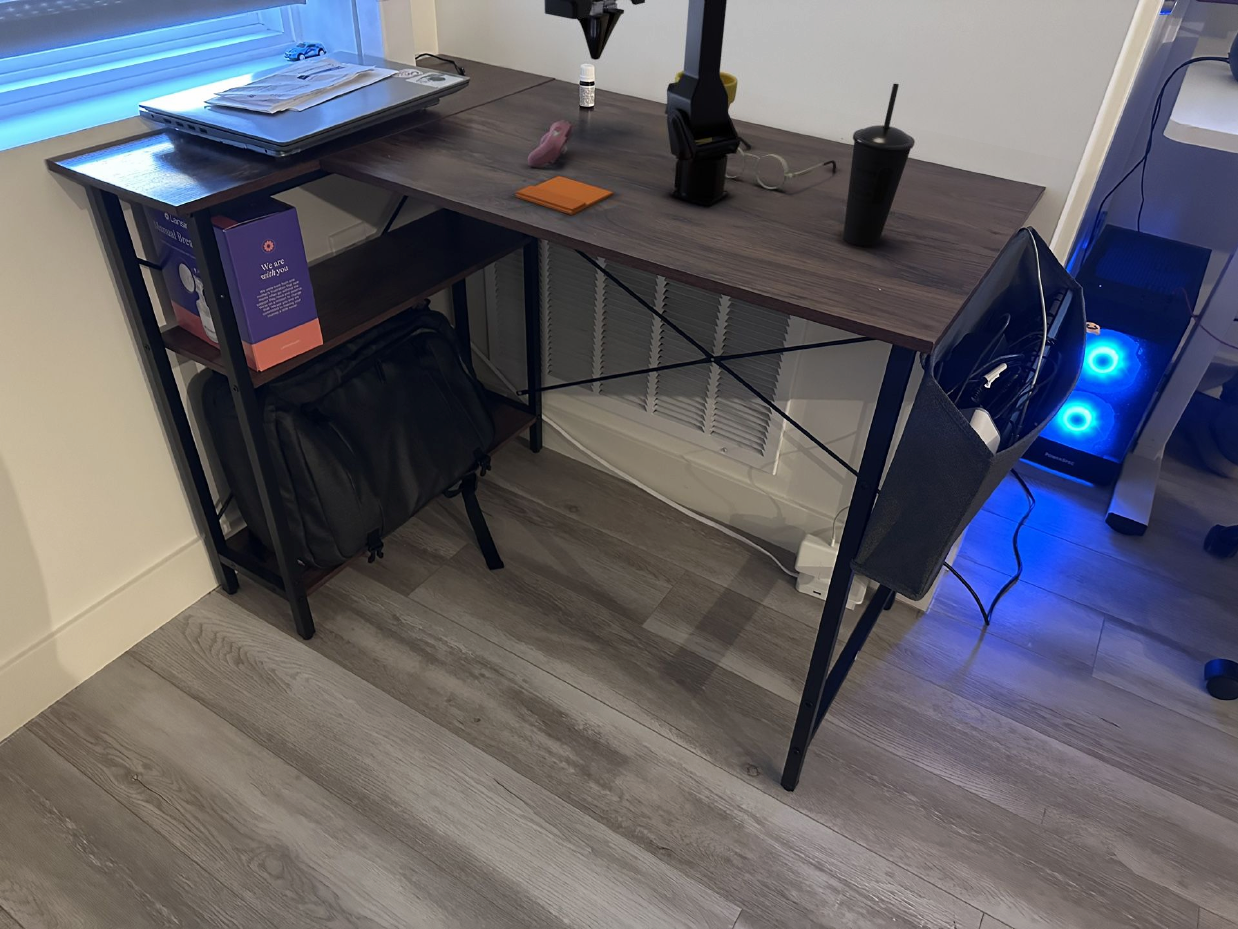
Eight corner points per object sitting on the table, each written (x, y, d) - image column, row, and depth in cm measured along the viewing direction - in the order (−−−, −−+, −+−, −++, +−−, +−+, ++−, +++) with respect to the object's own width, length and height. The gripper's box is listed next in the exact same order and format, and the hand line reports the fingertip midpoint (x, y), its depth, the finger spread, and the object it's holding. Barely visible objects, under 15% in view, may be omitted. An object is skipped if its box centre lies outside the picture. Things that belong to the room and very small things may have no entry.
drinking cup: (899, 240, 119) (939, 85, 107) (872, 256, 115) (910, 96, 102) (850, 223, 123) (883, 72, 111) (822, 238, 119) (852, 82, 106)
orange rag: (612, 194, 128) (613, 189, 128) (571, 214, 121) (571, 209, 121) (558, 178, 132) (558, 173, 132) (516, 197, 126) (515, 191, 125)
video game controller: (550, 179, 136) (570, 140, 132) (524, 164, 135) (543, 124, 131) (563, 159, 144) (582, 121, 139) (539, 144, 143) (557, 105, 139)
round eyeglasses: (699, 170, 138) (702, 137, 135) (746, 146, 148) (750, 116, 145) (796, 197, 130) (802, 163, 127) (839, 170, 140) (845, 139, 137)
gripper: (591, -67, 138) (589, 40, 148) (514, -56, 126) (517, 60, 135) (650, -59, 133) (644, 52, 143) (576, -46, 121) (575, 73, 131)
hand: (595, 59), depth 138 cm, fingers closed
